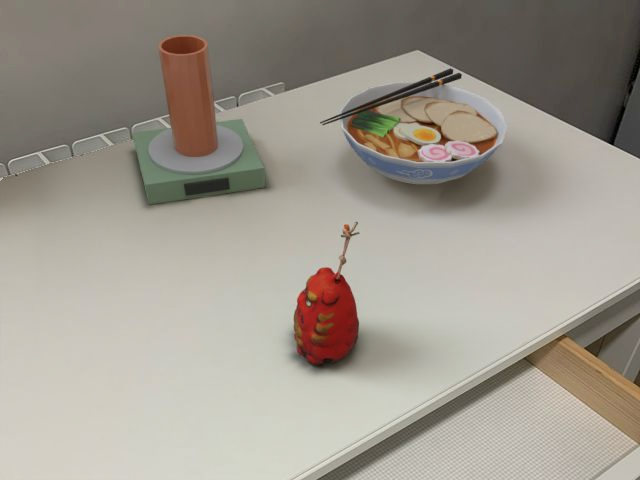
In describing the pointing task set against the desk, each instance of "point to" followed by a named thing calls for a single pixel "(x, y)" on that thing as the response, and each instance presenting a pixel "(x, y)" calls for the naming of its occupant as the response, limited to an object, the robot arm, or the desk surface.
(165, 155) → the scale
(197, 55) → the cup
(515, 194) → the desk surface
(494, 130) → the ramen bowl
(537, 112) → the desk surface
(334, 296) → the red clay folk toy
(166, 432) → the desk surface
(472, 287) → the desk surface
